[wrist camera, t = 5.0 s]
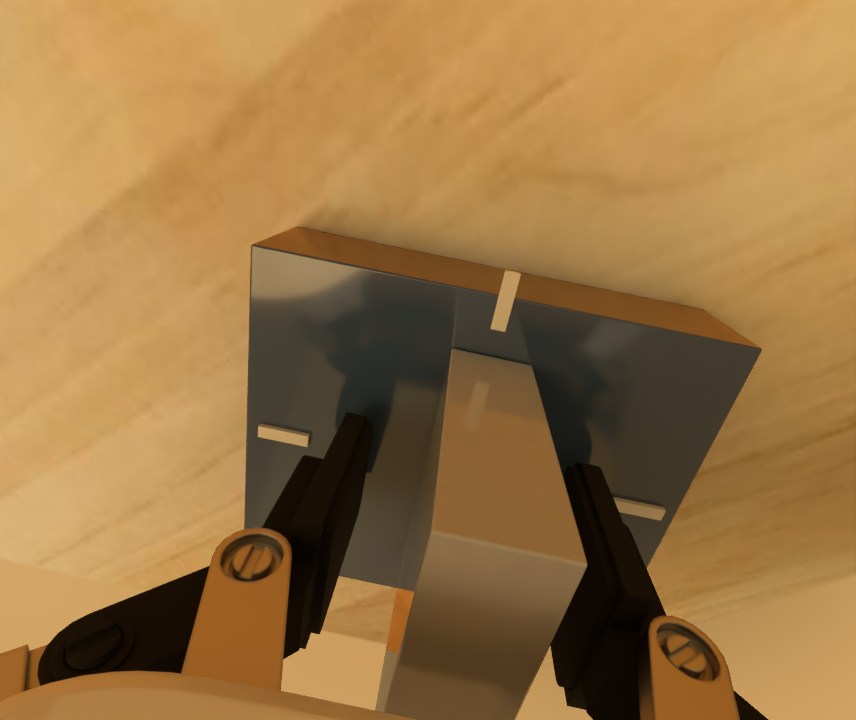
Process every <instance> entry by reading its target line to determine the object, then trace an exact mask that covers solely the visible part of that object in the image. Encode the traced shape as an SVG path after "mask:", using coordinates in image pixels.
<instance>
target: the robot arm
mask: <svg viewBox="0 0 856 720" xmlns="http://www.w3.org/2000/svg"><path fill="white" fill-rule="evenodd" d="M367 419H368V417H367V416H363V415H358V414H353V413H349V412H347V413H346V414H345V416H344V418H343V420H342V422H341V424H340V426H339V428H338V430H337V432H336V434H335V436H334V438H333V440H332V443H331V445H330V447H329V449H328V451H327V453H326V455H325V457H324V459H321V458H317V457H312V456H308V455H304V456H303V457H302V458H301V459H300V461H299V463H298V465H297V466H296V468H295V470H294V472H293V473H292V475H291V477H290V479H289V480H288V482H287V484H286V486H285V487H284V489H283V491H282V493H281V495H280V496H279V498H278V500H277V502H276V503H275V505H274V507H273V509H272V510H271V512H270V514H269V516H268V517H267V519H266V521H265V523H264V524H263V526H262V528H250V529H244V530H242V531H239V532H236V533H234V534H232V535H230V536H229V537H227V538H226V539H224V540H223V541H222V542H221V543H220V545H219V546H218V547H217V548H216V550H215V552H214V554H213V556H212V560H211V563H210V566H208V567H206V568H203V569H201V570H198V571H196V572H193V573H191V574H188V575H186V576H183V577H181V578H178V579H176V580H173V581H171V582H168V583H166V584H163V585H161V586H158V587H156V588H153V589H151V590H148V591H146V592H143V593H141V594H138V595H135V596H133V597H130V598H128V599H125V600H123V601H120V602H118V603H115V604H113V605H110V606H108V607H105V608H103V609H100V610H98V611H95V612H93V613H90V614H88V615H86V616H84V617H82V618H80V619H78V620H76V621H74V622H72V623H71V624H70V625H68V626H67V627H66V628H65V629H63V630H62V631H60V632H59V633H58V634H57V635H56V636H55V637H54V638H53V640H52V641H51V642H50V643H49V644H48V645H46V646H43V647H40V648H37V649H34V650H31V651H29V647H28V645H25V646H22V647H19V648H16V649H13V650H10V651H7V652H4V653H1V654H0V720H417V719H412V718H407V717H402V716H398V715H393V714H388V713H383V712H379V711H374V710H369V709H364V708H360V707H355V706H350V705H345V704H341V703H335V702H331V701H326V700H322V699H317V698H312V697H307V696H302V695H298V694H293V693H288V692H283V691H281V680H282V667H283V659H285V658H286V657H288V656H290V655H292V654H293V653H295V652H297V651H298V650H299V648H303V649H305V648H306V645H307V642H308V640H309V637H310V634H311V633H316V634H320V632H321V629H322V626H323V623H324V620H325V617H326V614H327V610H328V607H329V604H330V601H331V598H332V595H333V592H334V589H335V585H336V582H337V579H338V576H339V573H340V570H341V567H342V564H343V561H344V557H345V554H346V551H347V548H348V545H349V542H350V539H351V536H352V532H353V529H354V526H355V523H356V520H357V517H358V513H359V509H360V505H361V500H362V494H363V488H364V482H365V476H366V470H367V465H368V459H369V453H370V447H371V441H372V435H373V430H374V424H373V423H369V422H367ZM563 478H564V482H565V486H566V489H567V493H568V496H569V500H570V503H571V507H572V511H573V514H574V518H575V521H576V525H577V528H578V532H579V536H580V539H581V543H582V546H583V550H584V553H585V557H586V561H587V568H586V570H585V572H584V574H583V577H582V579H581V581H580V583H579V585H578V587H577V589H576V591H575V594H574V596H573V598H572V600H571V602H570V604H569V606H568V608H567V611H566V613H565V615H564V617H563V619H562V621H561V623H560V625H559V628H558V630H557V632H556V634H555V636H554V638H553V640H552V642H551V644H550V645H551V651H552V658H553V664H554V670H555V676H556V681H557V683H558V685H559V686H561V687H564V690H565V696H566V702H567V706H571V707H576V708H580V709H585V710H586V711H587V713H588V714H589V715H590V717H592V719H593V720H768V719H767V718H766V717H764V716H763V715H762V714H761V713H760V712H759V711H757V710H756V709H755V708H754V707H753V706H751V705H750V704H749V703H748V702H747V701H745V700H744V699H743V698H742V697H741V696H739V695H738V694H737V693H736V692H735V691H734V690H733V687H732V682H731V678H730V673H729V669H728V666H727V664H726V661H725V658H724V656H723V655H722V653H721V652H720V650H719V649H718V647H717V646H716V645H715V644H714V643H713V641H712V640H711V639H710V638H709V637H708V636H707V635H706V634H705V633H703V632H702V631H701V630H699V629H698V628H697V627H696V626H694V625H692V624H690V623H689V622H687V621H685V620H683V619H680V618H677V617H674V616H666V614H665V611H664V609H663V607H662V604H661V602H660V599H659V597H658V595H657V592H656V590H655V588H654V585H653V583H652V580H651V578H650V576H649V573H648V571H647V569H646V566H645V564H644V561H643V559H642V557H641V554H640V552H639V550H638V547H637V545H636V542H635V540H634V538H633V535H632V533H631V531H630V529H629V527H628V526H627V525H625V524H624V523H623V521H622V518H621V516H620V513H619V511H618V508H617V506H616V503H615V501H614V499H613V496H612V494H611V491H610V489H609V486H608V484H607V482H606V479H605V477H604V474H603V472H602V469H601V468H600V467H599V466H595V465H590V464H585V463H581V462H577V463H576V464H575V465H574V467H573V466H568V467H567V468H566V470H565V473H564V475H563Z"/></svg>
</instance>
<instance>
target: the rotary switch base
mask: <svg viewBox="0 0 856 720" xmlns="http://www.w3.org/2000/svg"><path fill="white" fill-rule="evenodd" d="M452 349H457V350H461V351H466V352H471V353H475V354H480V355H484V356H489V357H494V358H498V359H503V360H508V361H512V362H517V363H521V364H526V365H531V366H532V368H533V371H534V375H535V379H536V382H537V386H538V389H539V393H540V396H541V400H542V404H543V407H544V411H545V414H546V418H547V421H548V425H549V428H550V432H551V436H552V439H553V443H554V446H555V450H556V453H557V457H558V461H559V464H560V468H561V471H562V475H564V473H565V470H566V468H567V467H568V466H573V467H574V465H575V464H576V463H577V462H581V463H585V464H590V465H595V466H599V467H600V468H601V469H602V472H603V474H604V477H605V479H606V482H607V484H608V486H609V489H610V491H611V494H612V496H613V499H614V501H615V503H616V506H617V508H618V511H619V513H620V516H621V518H622V521H623V523H624V524H625V525H627V526H628V527H629V529H630V531H631V533H632V535H633V538H634V540H635V542H636V545H637V547H638V550H639V552H640V554H641V557H642V559H643V561H644V564H645V566H646V568H647V566H648V565H649V563H650V561H651V559H652V557H653V555H654V553H655V551H656V549H657V548H658V546H659V544H660V542H661V540H662V538H663V536H664V534H665V532H666V531H667V529H668V527H669V525H670V523H671V521H672V519H673V517H674V515H675V514H676V512H677V510H678V508H679V506H680V504H681V502H682V500H683V498H684V497H685V495H686V493H687V491H688V489H689V487H690V485H691V483H692V481H693V480H694V478H695V476H696V474H697V472H698V470H699V468H700V466H701V464H702V463H703V461H704V459H705V457H706V455H707V453H708V451H709V449H710V447H711V446H712V444H713V442H714V440H715V438H716V436H717V434H718V432H719V430H720V429H721V427H722V425H723V423H724V421H725V419H726V417H727V415H728V413H729V412H730V410H731V408H732V406H733V404H734V402H735V400H736V398H737V396H738V395H739V393H740V391H741V389H742V387H743V385H744V383H745V381H746V379H747V378H748V376H749V374H750V372H751V370H752V368H753V366H754V364H755V362H756V361H757V359H758V357H759V355H760V353H761V351H762V349H761V348H760V347H758V346H757V345H755V344H754V343H752V342H751V341H749V340H748V339H746V338H745V337H743V336H742V335H740V334H739V333H737V332H736V331H734V330H733V329H731V328H730V327H728V326H727V325H725V324H724V323H722V322H721V321H719V320H718V319H716V318H715V317H713V316H712V315H710V314H709V313H707V312H706V311H704V310H702V309H697V308H692V307H687V306H682V305H677V304H673V303H668V302H663V301H658V300H653V299H648V298H643V297H638V296H633V295H628V294H624V293H619V292H614V291H609V290H604V289H599V288H594V287H589V286H584V285H580V284H575V283H570V282H565V281H560V280H555V279H550V278H545V277H540V276H535V275H531V274H526V273H521V272H516V271H511V270H506V269H501V268H496V267H491V266H486V265H482V264H477V263H472V262H467V261H462V260H457V259H452V258H447V257H442V256H438V255H433V254H428V253H423V252H418V251H413V250H408V249H403V248H398V247H393V246H389V245H384V244H379V243H374V242H369V241H364V240H359V239H354V238H349V237H344V236H340V235H335V234H330V233H325V232H320V231H315V230H310V229H305V228H300V227H295V228H292V229H290V230H287V231H285V232H282V233H280V234H277V235H275V236H272V237H269V238H267V239H264V240H262V241H259V242H257V243H254V244H252V245H251V272H250V314H249V355H248V397H247V439H246V481H245V522H244V529H250V528H262V526H263V524H264V523H265V521H266V519H267V517H268V516H269V514H270V512H271V510H272V509H273V507H274V505H275V503H276V502H277V500H278V498H279V496H280V495H281V493H282V491H283V489H284V487H285V486H286V484H287V482H288V480H289V479H290V477H291V475H292V473H293V472H294V470H295V468H296V466H297V465H298V463H299V461H300V459H301V458H302V457H303V456H304V455H308V456H312V457H317V458H321V459H324V457H325V455H326V453H327V451H328V449H329V447H330V445H331V443H332V440H333V438H334V436H335V434H336V432H337V430H338V428H339V426H340V424H341V422H342V420H343V418H344V416H345V414H346V413H347V412H349V413H353V414H358V415H363V416H367V417H368V419H367V422H369V423H373V424H374V430H373V435H372V441H371V447H370V453H369V459H368V465H367V470H366V476H365V482H364V488H363V494H362V500H361V505H360V509H359V513H358V517H357V520H356V523H355V526H354V529H353V532H352V536H351V539H350V542H349V545H348V548H347V551H346V554H345V557H344V561H343V564H342V567H341V570H340V573H339V576H342V577H347V578H351V579H356V580H361V581H366V582H370V583H375V584H380V585H385V586H390V587H394V588H397V584H398V579H399V573H400V568H401V562H402V556H403V552H404V548H405V543H406V539H407V535H408V531H409V526H410V522H411V518H412V514H413V510H414V505H415V501H416V497H417V493H418V488H419V484H420V480H421V476H422V471H423V467H424V463H425V459H426V454H427V450H428V446H429V442H430V438H431V433H432V429H433V425H434V421H435V416H436V412H437V408H438V404H439V399H440V395H441V391H442V387H443V382H444V378H445V374H446V370H447V366H448V361H449V357H450V353H451V350H452Z"/></svg>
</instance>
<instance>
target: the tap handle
mask: <svg viewBox="0 0 856 720" xmlns="http://www.w3.org/2000/svg"><path fill="white" fill-rule="evenodd" d="M586 568H587V561H586V557H585V553H584V550H583V546H582V543H581V539H580V536H579V532H578V528H577V525H576V521H575V518H574V514H573V511H572V507H571V503H570V500H569V496H568V493H567V489H566V486H565V482H564V478H563V475H562V471H561V468H560V464H559V461H558V457H557V453H556V450H555V446H554V443H553V439H552V436H551V432H550V428H549V425H548V421H547V418H546V414H545V411H544V407H543V404H542V400H541V396H540V393H539V389H538V386H537V382H536V379H535V375H534V371H533V368H532V366H531V365H526V364H521V363H517V362H512V361H508V360H503V359H498V358H494V357H489V356H484V355H480V354H475V353H471V352H466V351H461V350H457V349H452V350H451V353H450V357H449V361H448V366H447V370H446V374H445V378H444V382H443V387H442V391H441V395H440V399H439V404H438V408H437V412H436V416H435V421H434V425H433V429H432V433H431V438H430V442H429V446H428V450H427V454H426V459H425V463H424V467H423V471H422V476H421V480H420V484H419V488H418V493H417V497H416V501H415V505H414V510H413V514H412V518H411V522H410V526H409V531H408V535H407V539H406V543H405V548H404V552H403V556H402V562H401V568H400V573H399V579H398V584H397V590H396V596H395V601H394V607H393V613H392V618H391V624H390V630H389V635H388V641H387V647H386V653H385V658H384V664H383V669H382V675H381V680H380V686H379V692H378V698H377V703H376V709H375V711H379V712H383V713H388V714H393V715H398V716H402V717H407V718H412V719H417V720H515V719H516V717H517V715H518V712H519V710H520V708H521V706H522V704H523V702H524V700H525V697H526V695H527V693H528V691H529V689H530V687H531V685H532V682H533V681H534V678H535V676H536V674H537V672H538V670H539V668H540V666H541V664H542V661H543V659H544V657H545V655H546V653H547V651H548V649H549V647H550V644H551V642H552V640H553V638H554V636H555V634H556V632H557V630H558V628H559V625H560V623H561V621H562V619H563V617H564V615H565V613H566V611H567V608H568V606H569V604H570V602H571V600H572V598H573V596H574V594H575V591H576V589H577V587H578V585H579V583H580V581H581V579H582V577H583V574H584V572H585V570H586Z"/></svg>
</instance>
